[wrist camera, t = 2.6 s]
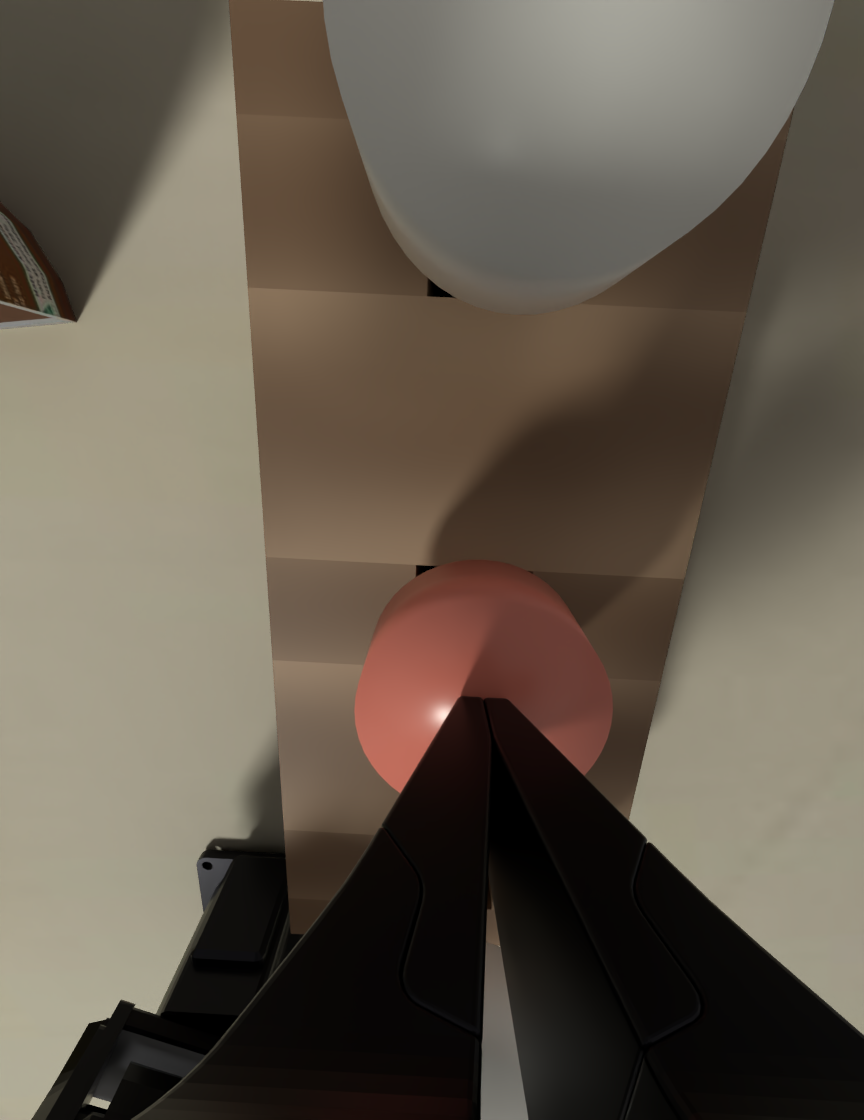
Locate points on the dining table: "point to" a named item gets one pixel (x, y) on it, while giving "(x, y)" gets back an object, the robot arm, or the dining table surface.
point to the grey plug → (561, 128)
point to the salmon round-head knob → (478, 665)
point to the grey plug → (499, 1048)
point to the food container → (28, 280)
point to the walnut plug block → (455, 436)
